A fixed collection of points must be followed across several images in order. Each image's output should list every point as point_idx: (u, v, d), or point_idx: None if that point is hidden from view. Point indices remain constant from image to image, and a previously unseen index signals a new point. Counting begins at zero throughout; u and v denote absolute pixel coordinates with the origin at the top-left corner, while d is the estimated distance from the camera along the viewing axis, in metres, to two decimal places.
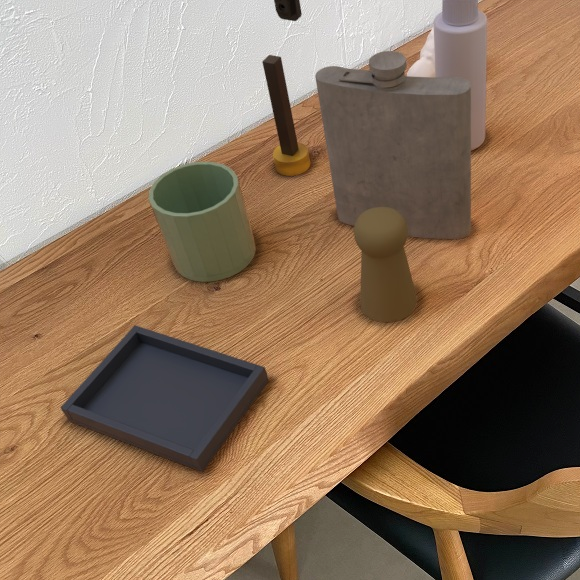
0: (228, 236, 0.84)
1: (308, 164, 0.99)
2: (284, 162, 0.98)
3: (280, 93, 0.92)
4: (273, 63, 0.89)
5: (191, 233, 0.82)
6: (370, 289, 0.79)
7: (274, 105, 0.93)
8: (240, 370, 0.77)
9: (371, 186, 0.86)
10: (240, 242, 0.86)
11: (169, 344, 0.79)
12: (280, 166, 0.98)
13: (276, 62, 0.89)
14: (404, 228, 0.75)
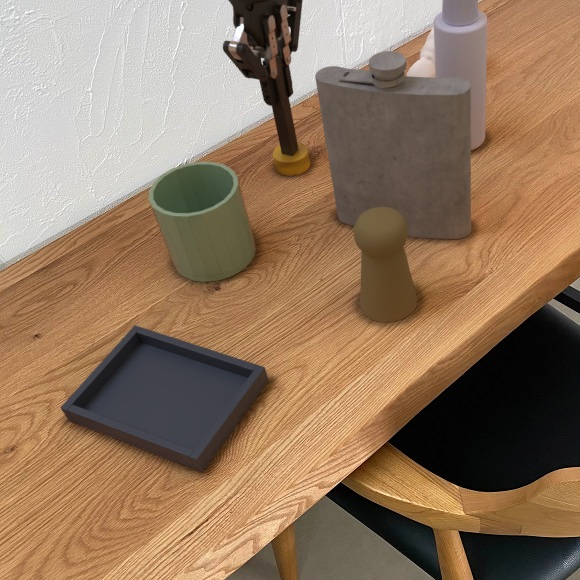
0: (228, 236, 0.84)
1: (308, 164, 0.99)
2: (284, 162, 0.98)
3: None
4: None
5: (191, 233, 0.82)
6: (370, 289, 0.79)
7: None
8: (240, 370, 0.77)
9: (371, 186, 0.86)
10: (240, 242, 0.86)
11: (169, 344, 0.79)
12: (280, 166, 0.98)
13: (276, 62, 0.89)
14: (404, 228, 0.75)
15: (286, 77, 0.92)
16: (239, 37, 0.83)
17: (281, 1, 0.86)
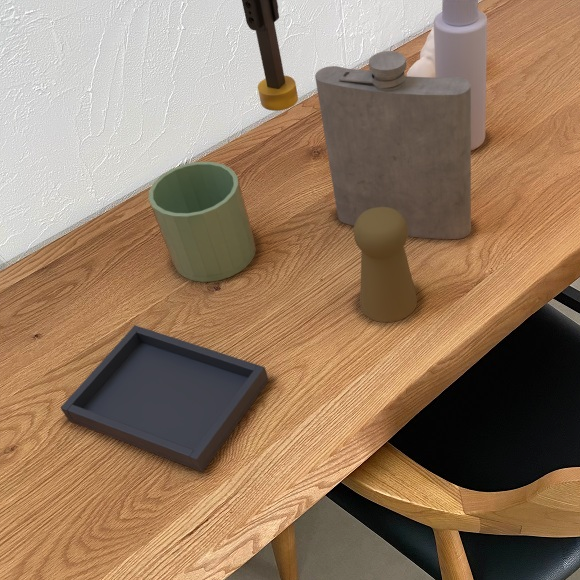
0: (228, 236, 0.84)
1: (295, 99, 0.93)
2: (269, 95, 0.91)
3: None
4: None
5: (191, 233, 0.82)
6: (370, 289, 0.79)
7: None
8: (240, 370, 0.77)
9: (371, 186, 0.86)
10: (240, 242, 0.86)
11: (169, 344, 0.79)
12: (265, 100, 0.92)
13: None
14: (404, 228, 0.75)
15: None
16: None
17: None
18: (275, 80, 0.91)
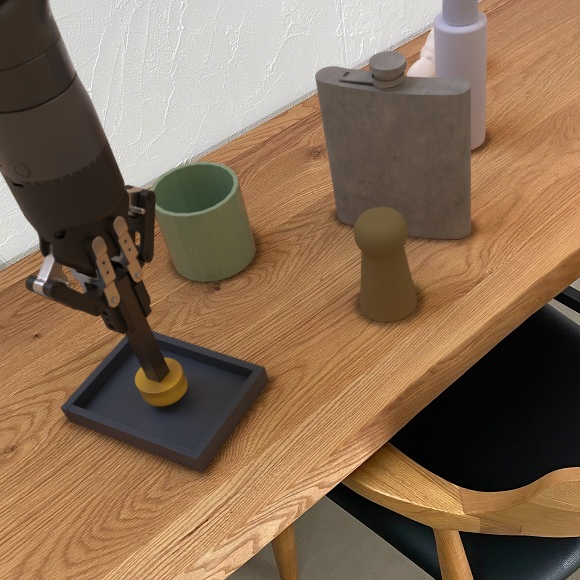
0: (228, 236, 0.84)
1: (183, 389, 0.75)
2: (148, 392, 0.73)
3: None
4: None
5: (191, 233, 0.82)
6: (370, 289, 0.79)
7: None
8: (240, 370, 0.77)
9: (371, 186, 0.86)
10: (240, 242, 0.86)
11: (169, 344, 0.79)
12: (144, 396, 0.73)
13: (119, 284, 0.64)
14: (404, 228, 0.75)
15: (138, 296, 0.67)
16: (47, 272, 0.58)
17: (118, 209, 0.61)
18: (154, 374, 0.73)
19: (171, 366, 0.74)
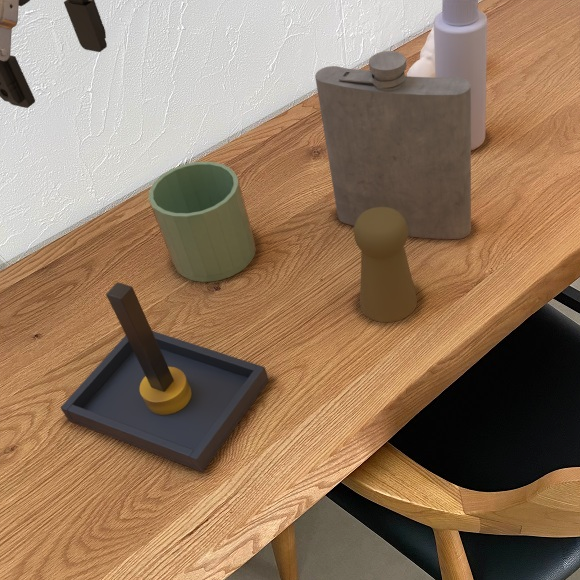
0: (228, 236, 0.84)
1: (187, 398, 0.76)
2: (152, 401, 0.74)
3: (136, 329, 0.68)
4: (120, 298, 0.65)
5: (191, 233, 0.82)
6: (370, 289, 0.79)
7: (131, 340, 0.69)
8: (240, 370, 0.77)
9: (371, 186, 0.86)
10: (240, 242, 0.86)
11: (169, 344, 0.79)
12: (148, 405, 0.74)
13: (124, 296, 0.65)
14: (404, 228, 0.75)
15: (90, 20, 0.61)
16: None
17: None
18: (159, 384, 0.74)
19: (175, 375, 0.75)
